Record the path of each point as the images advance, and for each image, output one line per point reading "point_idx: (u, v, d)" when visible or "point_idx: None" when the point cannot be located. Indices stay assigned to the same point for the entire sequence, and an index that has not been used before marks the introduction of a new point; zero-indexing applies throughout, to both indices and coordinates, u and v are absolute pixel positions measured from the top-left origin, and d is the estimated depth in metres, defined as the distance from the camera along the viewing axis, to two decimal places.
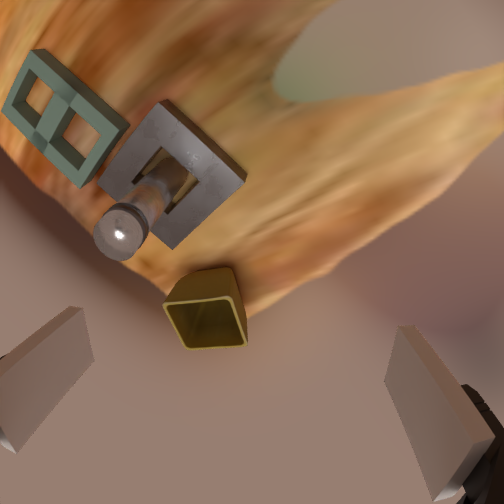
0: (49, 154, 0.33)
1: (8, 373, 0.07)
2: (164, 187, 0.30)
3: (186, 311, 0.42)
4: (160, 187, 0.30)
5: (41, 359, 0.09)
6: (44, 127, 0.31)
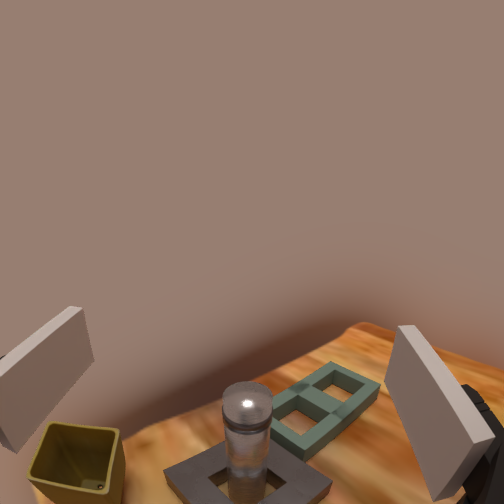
0: (286, 393, 0.42)
1: (8, 373, 0.07)
2: (257, 471, 0.24)
3: (86, 450, 0.26)
4: (260, 466, 0.24)
5: (41, 359, 0.09)
6: (312, 392, 0.42)
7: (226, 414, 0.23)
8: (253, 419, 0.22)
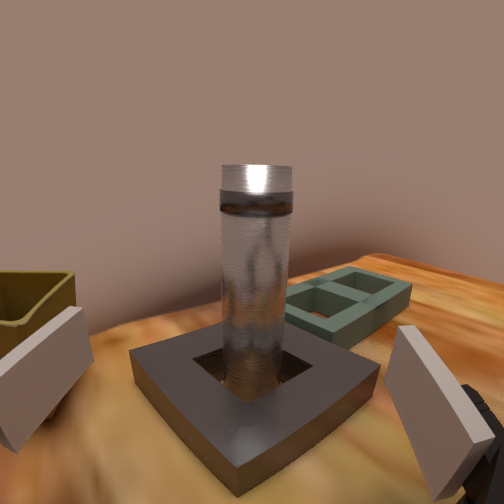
0: (301, 285, 0.36)
1: (8, 373, 0.07)
2: (269, 317, 0.18)
3: None
4: (274, 306, 0.18)
5: (41, 359, 0.09)
6: (332, 286, 0.36)
7: (225, 186, 0.17)
8: (266, 182, 0.16)
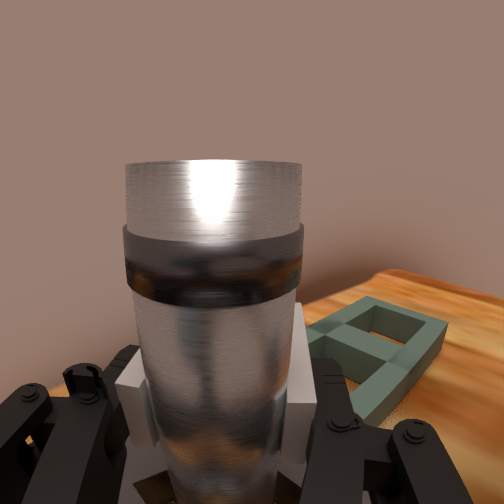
0: None
1: None
2: (247, 480, 0.07)
3: None
4: (257, 464, 0.08)
5: None
6: (348, 332, 0.26)
7: (128, 220, 0.06)
8: (226, 210, 0.05)
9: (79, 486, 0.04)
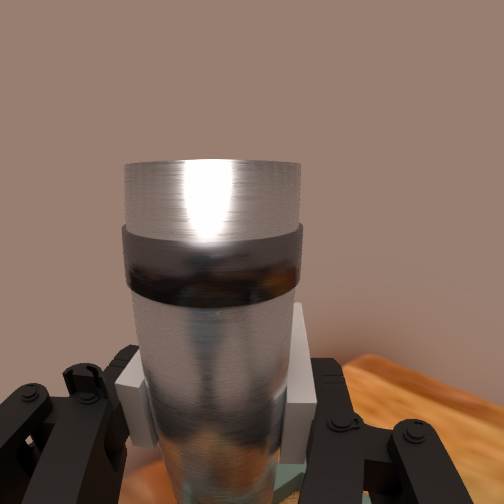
0: None
1: None
2: (247, 480, 0.07)
3: None
4: (256, 464, 0.07)
5: None
6: None
7: (127, 220, 0.06)
8: (224, 210, 0.05)
9: (79, 486, 0.04)
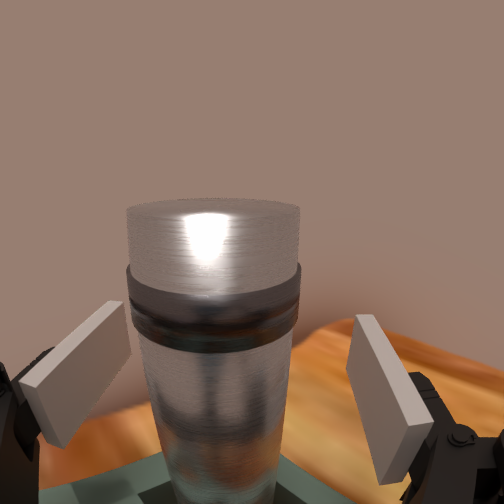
0: (57, 497, 0.09)
1: (59, 367, 0.08)
2: (247, 495, 0.08)
3: None
4: (256, 481, 0.08)
5: (88, 352, 0.10)
6: None
7: (131, 266, 0.07)
8: (226, 266, 0.06)
9: None
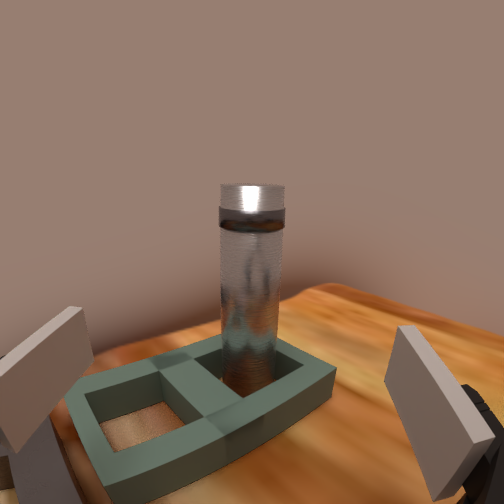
0: (140, 366, 0.22)
1: (8, 373, 0.07)
2: (264, 321, 0.20)
3: None
4: (268, 311, 0.20)
5: (41, 359, 0.09)
6: (187, 371, 0.22)
7: (224, 204, 0.19)
8: (260, 201, 0.18)
9: None
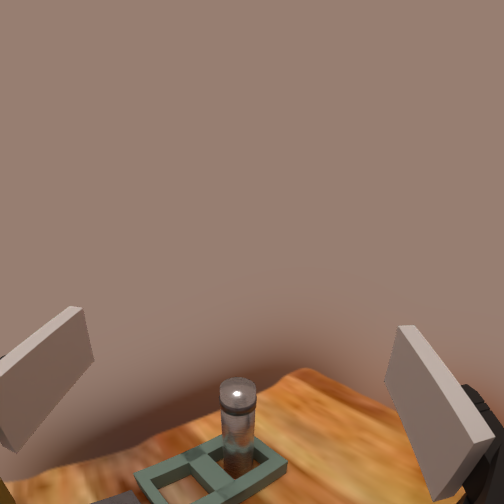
0: (177, 459, 0.35)
1: (8, 373, 0.07)
2: (245, 446, 0.34)
3: None
4: (247, 442, 0.34)
5: (41, 359, 0.09)
6: (204, 462, 0.35)
7: (222, 400, 0.32)
8: (241, 404, 0.31)
9: None
